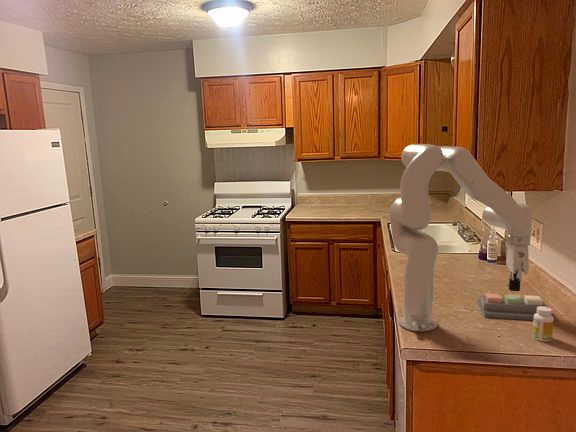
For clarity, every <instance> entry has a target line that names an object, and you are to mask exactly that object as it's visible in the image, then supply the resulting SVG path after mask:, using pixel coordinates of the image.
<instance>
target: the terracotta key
mask: <svg viewBox="0 0 576 432" xmlns="http://www.w3.org/2000/svg"><path fill="white" fill-rule="evenodd" d="M484 296H485V300H486V302H487V303H502V298H501V297H502V296H501V295H500V293H490V292H489V293H487V292H486V293H484Z"/></svg>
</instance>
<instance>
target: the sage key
mask: <svg viewBox="0 0 576 432" xmlns="http://www.w3.org/2000/svg"><path fill="white" fill-rule="evenodd" d="M504 297H505V298H504V300H505V302H506V303H507V304H522V299H521V298H522V297H521V296H520V295H519V294H509V293H508V294H506V293H504Z"/></svg>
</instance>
